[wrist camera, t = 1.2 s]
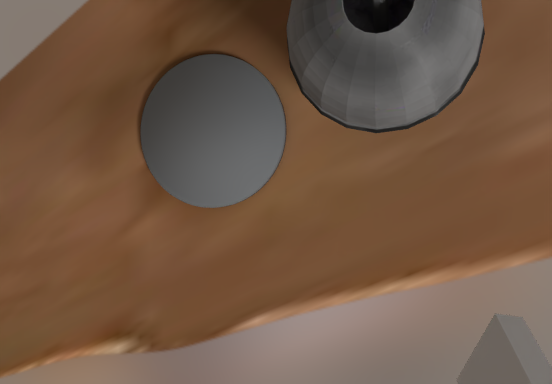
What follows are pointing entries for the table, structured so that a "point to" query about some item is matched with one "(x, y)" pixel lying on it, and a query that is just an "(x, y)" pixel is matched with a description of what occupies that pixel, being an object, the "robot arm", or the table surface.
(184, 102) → the coaster
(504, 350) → the robot arm
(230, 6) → the table surface
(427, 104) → the beverage cup
